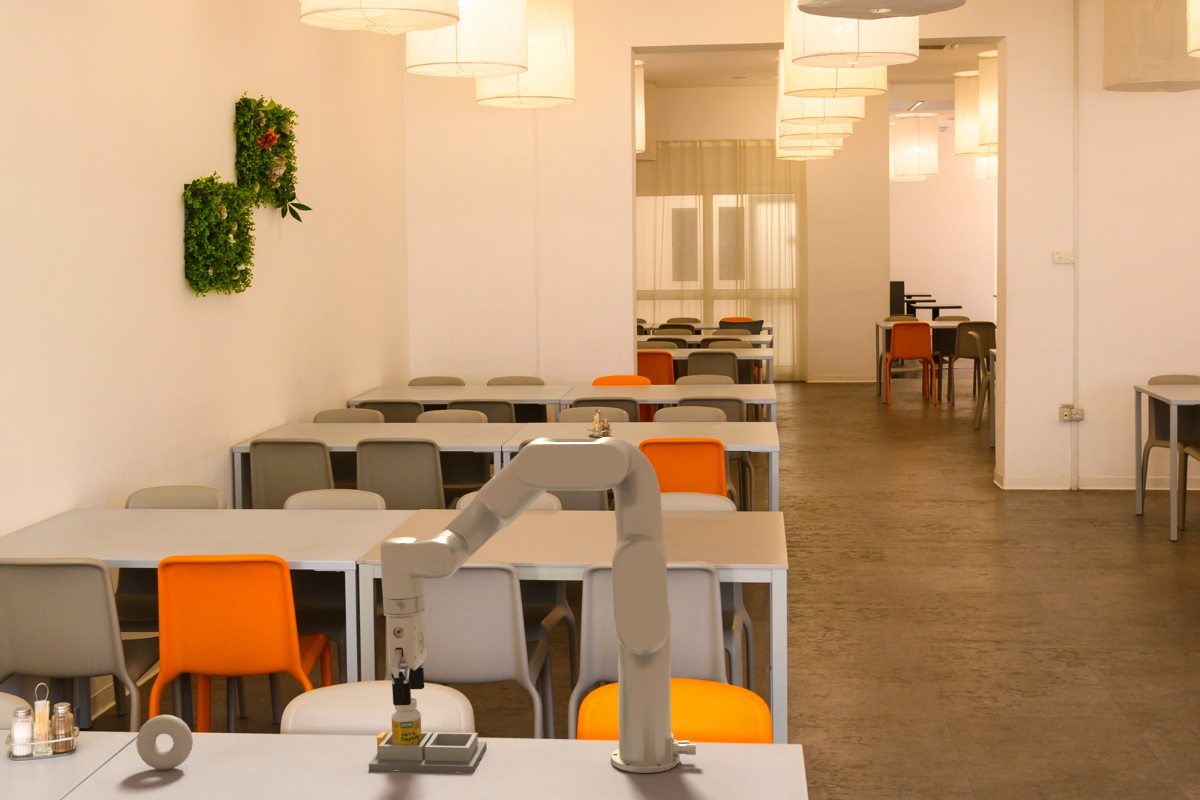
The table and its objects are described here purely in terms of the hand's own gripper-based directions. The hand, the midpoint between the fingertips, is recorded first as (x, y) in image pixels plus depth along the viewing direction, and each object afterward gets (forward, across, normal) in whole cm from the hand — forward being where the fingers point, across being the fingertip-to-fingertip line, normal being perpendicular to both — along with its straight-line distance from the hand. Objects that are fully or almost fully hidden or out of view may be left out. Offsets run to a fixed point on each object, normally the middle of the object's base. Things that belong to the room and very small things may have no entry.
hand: (409, 696), depth 218 cm
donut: (+10, -8, +44) cm, 46 cm away
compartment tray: (+12, 0, -3) cm, 12 cm away
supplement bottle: (+10, 0, +1) cm, 11 cm away
